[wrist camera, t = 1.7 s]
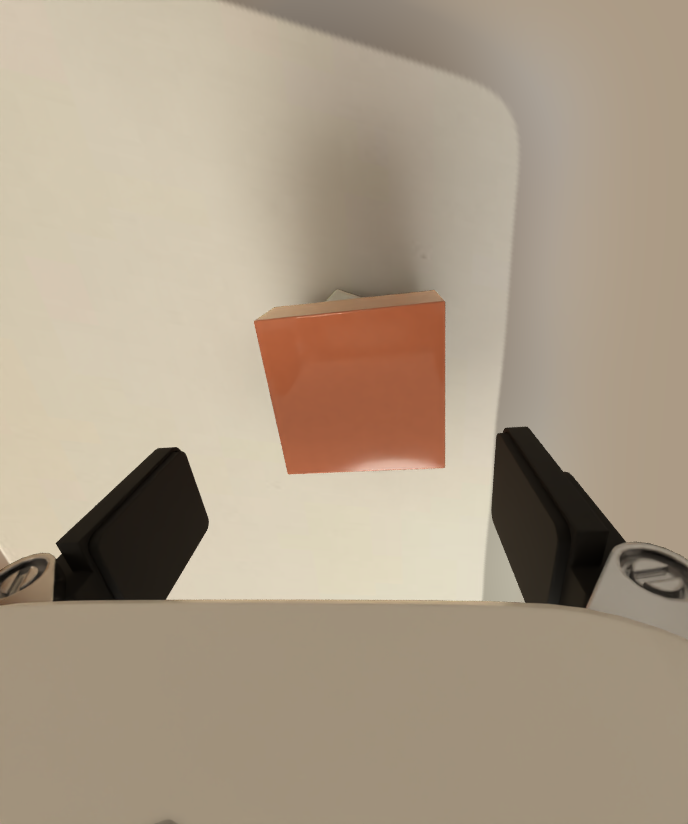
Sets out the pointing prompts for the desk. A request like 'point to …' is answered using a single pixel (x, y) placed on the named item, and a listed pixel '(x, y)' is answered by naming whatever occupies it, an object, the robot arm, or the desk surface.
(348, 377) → the orange flat block
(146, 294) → the desk surface
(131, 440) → the desk surface
